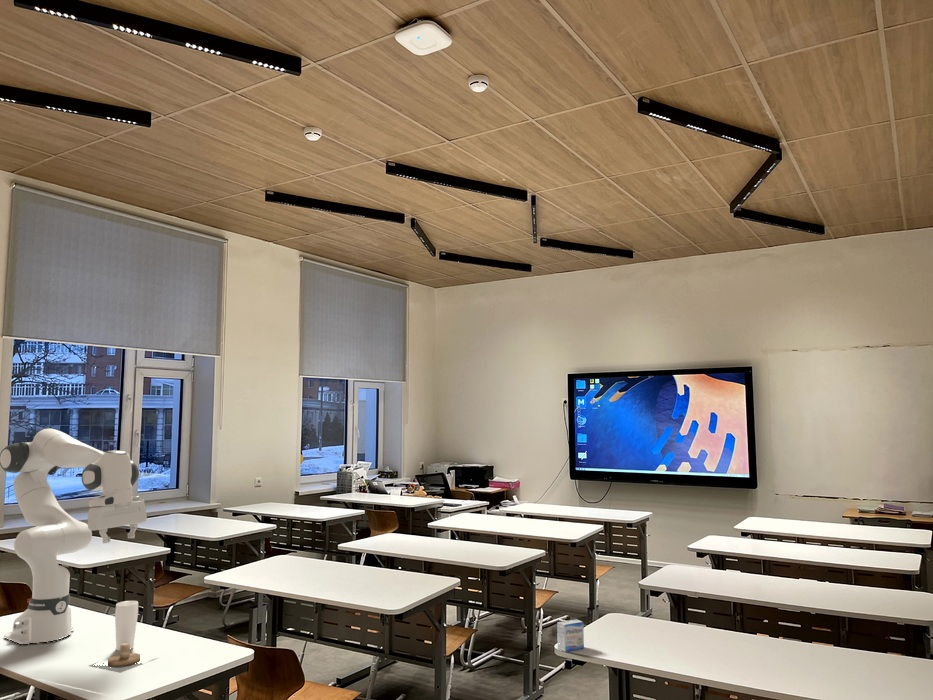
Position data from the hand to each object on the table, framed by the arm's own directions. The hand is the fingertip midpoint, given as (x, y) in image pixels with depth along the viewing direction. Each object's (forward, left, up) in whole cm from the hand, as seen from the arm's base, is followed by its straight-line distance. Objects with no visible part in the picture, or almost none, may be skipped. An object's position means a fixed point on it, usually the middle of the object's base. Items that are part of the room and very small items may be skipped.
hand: (119, 540), depth 223 cm
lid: (+12, -5, -36) cm, 38 cm away
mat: (+12, -5, -36) cm, 38 cm away
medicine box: (+136, +66, -36) cm, 155 cm away
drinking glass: (+1, +4, -36) cm, 36 cm away
